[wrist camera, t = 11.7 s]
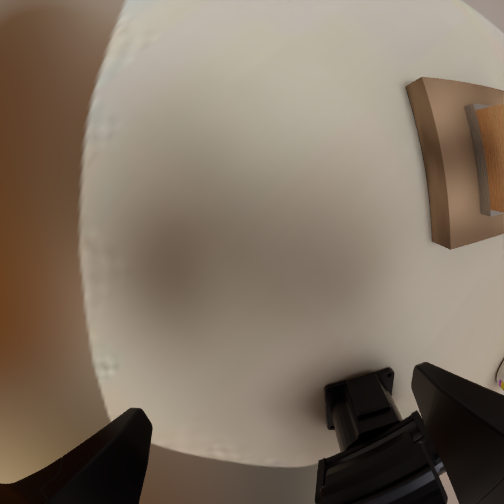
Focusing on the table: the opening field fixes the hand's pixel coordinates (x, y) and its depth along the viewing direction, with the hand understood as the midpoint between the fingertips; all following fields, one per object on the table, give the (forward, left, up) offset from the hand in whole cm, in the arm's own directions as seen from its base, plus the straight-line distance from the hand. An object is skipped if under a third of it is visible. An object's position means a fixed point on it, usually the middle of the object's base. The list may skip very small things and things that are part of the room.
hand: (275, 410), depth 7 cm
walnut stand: (+6, -19, -12) cm, 23 cm away
